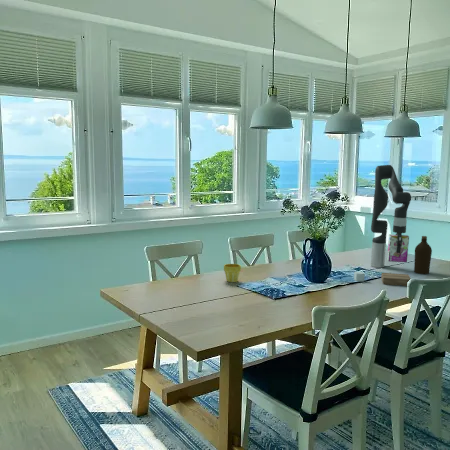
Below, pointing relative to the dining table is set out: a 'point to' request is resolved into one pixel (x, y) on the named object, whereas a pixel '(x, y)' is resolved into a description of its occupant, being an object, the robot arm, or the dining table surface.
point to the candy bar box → (392, 249)
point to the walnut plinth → (395, 279)
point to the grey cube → (359, 276)
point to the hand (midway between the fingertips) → (397, 251)
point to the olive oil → (422, 257)
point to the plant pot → (232, 272)
